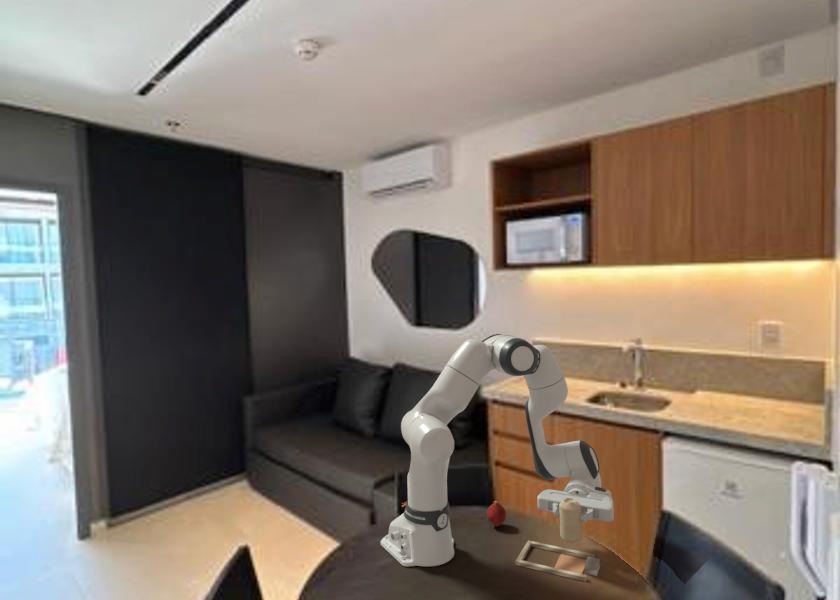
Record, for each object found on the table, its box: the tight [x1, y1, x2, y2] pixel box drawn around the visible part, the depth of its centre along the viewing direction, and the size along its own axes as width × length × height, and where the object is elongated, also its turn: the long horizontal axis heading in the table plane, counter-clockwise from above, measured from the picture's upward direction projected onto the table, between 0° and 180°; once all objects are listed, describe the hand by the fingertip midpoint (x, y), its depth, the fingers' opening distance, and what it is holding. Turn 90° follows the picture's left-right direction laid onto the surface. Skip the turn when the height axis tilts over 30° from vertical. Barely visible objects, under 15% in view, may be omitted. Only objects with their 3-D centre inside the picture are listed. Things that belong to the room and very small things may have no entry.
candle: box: [559, 498, 583, 543], centre depth 134 cm, size 6×6×10 cm
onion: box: [486, 500, 507, 528], centre depth 157 cm, size 6×6×8 cm
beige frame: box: [514, 539, 601, 582], centre depth 136 cm, size 20×12×2 cm, turn 62°
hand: (569, 516), depth 133 cm, fingers closed on candle, 5 cm apart
